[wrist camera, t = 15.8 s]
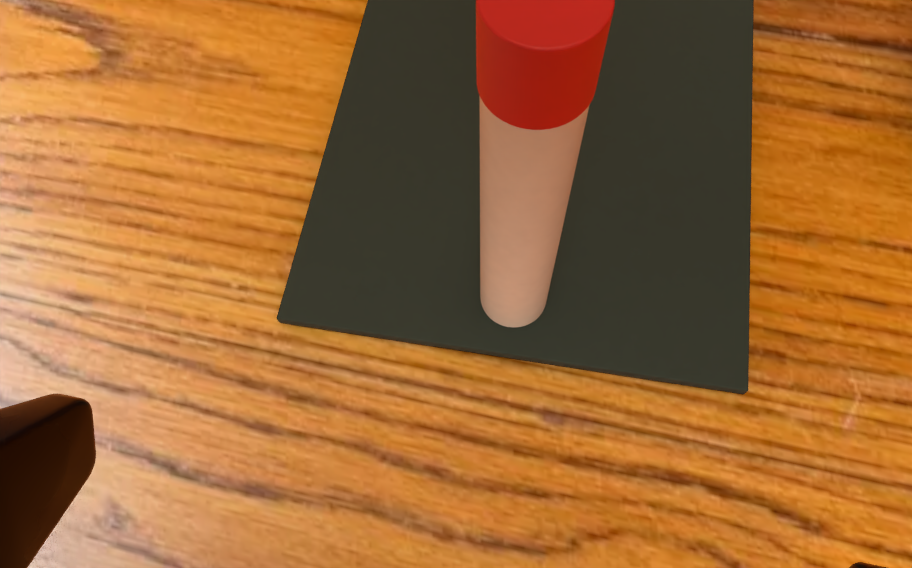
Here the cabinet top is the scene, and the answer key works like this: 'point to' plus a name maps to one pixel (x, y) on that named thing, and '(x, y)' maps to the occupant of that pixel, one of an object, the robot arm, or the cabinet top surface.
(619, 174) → the mat
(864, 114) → the cabinet top surface
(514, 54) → the marker
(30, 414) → the robot arm
